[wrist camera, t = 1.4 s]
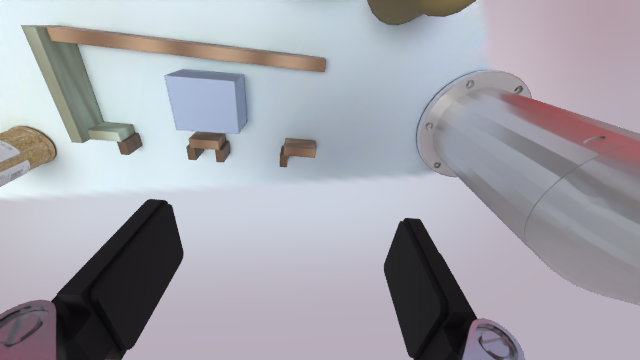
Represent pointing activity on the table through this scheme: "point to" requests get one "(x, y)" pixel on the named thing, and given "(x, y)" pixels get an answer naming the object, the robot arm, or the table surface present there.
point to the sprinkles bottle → (22, 152)
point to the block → (207, 101)
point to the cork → (414, 9)
